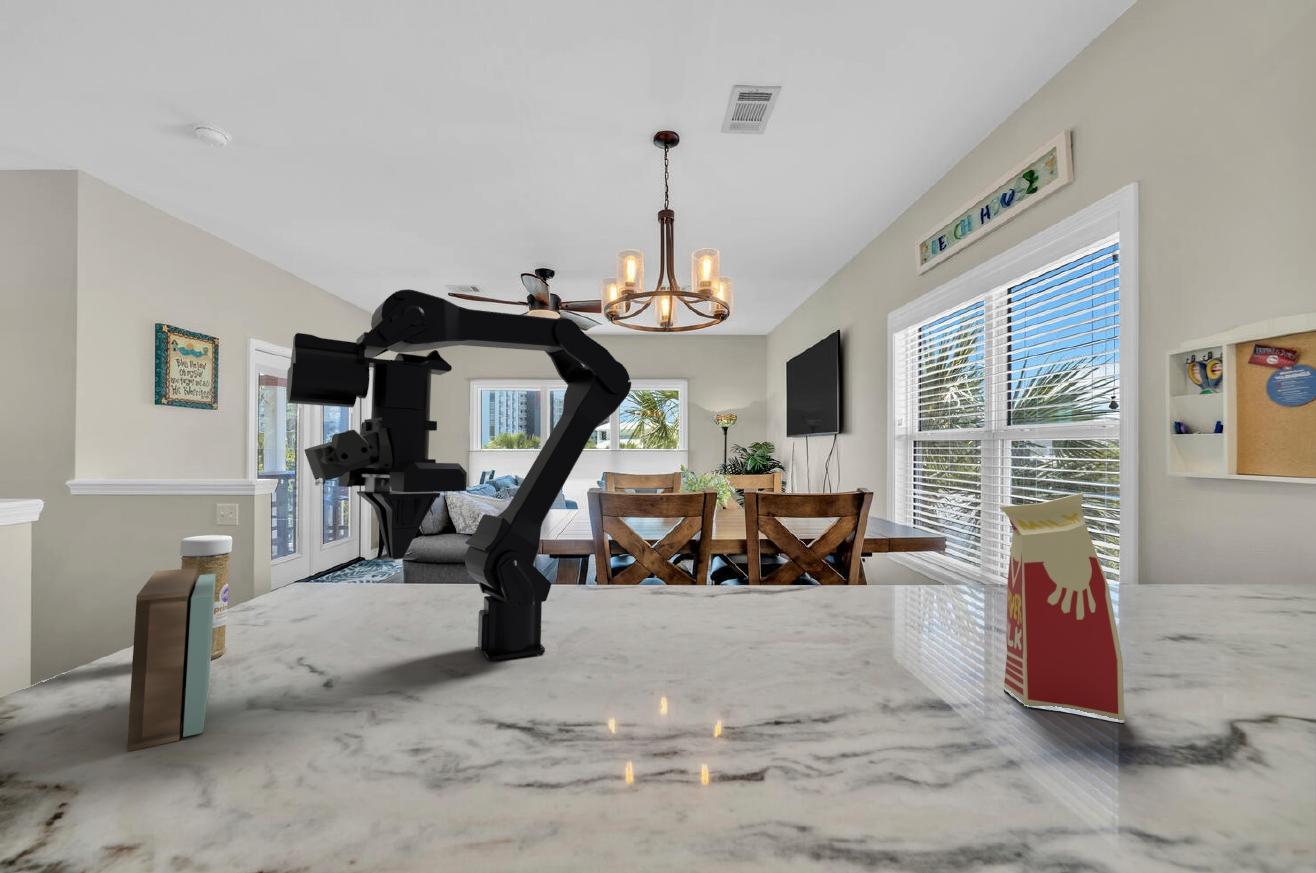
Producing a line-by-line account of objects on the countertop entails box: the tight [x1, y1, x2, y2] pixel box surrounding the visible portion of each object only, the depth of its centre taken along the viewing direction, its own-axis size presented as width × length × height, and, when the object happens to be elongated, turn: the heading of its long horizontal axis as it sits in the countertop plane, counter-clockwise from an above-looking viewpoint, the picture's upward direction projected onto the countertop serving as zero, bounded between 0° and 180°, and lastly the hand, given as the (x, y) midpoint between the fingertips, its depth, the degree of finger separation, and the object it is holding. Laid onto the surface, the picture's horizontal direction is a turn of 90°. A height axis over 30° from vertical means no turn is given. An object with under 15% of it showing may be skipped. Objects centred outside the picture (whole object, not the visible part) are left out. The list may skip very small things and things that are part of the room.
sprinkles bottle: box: [179, 534, 233, 660], centre depth 63 cm, size 5×5×13 cm
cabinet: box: [126, 568, 197, 752], centre depth 48 cm, size 3×12×12 cm, turn 37°
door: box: [182, 574, 216, 738], centre depth 50 cm, size 1×12×11 cm, turn 37°
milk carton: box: [998, 492, 1125, 721], centre depth 55 cm, size 9×9×20 cm
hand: (395, 558), depth 59 cm, fingers closed
